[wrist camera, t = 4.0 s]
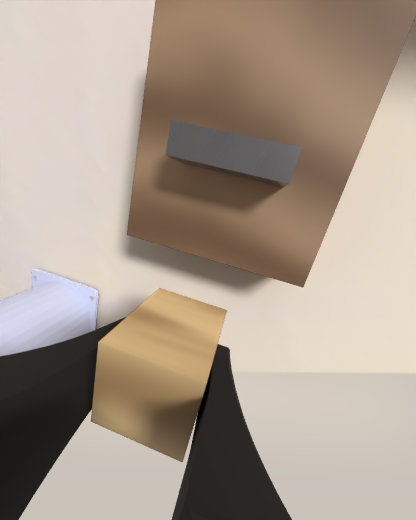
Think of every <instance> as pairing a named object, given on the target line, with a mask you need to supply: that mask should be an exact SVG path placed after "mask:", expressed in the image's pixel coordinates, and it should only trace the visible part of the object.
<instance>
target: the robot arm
mask: <svg viewBox="0 0 416 520" xmlns="http://www.w3.org/2000/svg"><path fill="white" fill-rule="evenodd" d="M31 277H32V288H31V289H29V290H26V291H23V292H21V293H18V294H15V295H13V296H10V297H8V298H5V299H2V300H0V520H19V518H20V516H21V515H22V513H23V512H24V510H25V508H26V507H27V505H28V503H29V502H30V500H31V499H32V497H33V495H34V494H35V492H36V491H37V489H38V488H39V486H40V485H41V483H42V482H43V480H44V478H45V477H46V475H47V473H48V472H49V471H50V469H51V468H52V466H53V465H54V463H55V462H56V460H57V458H58V457H59V456H60V454H61V453H62V451H63V450H64V448H65V447H66V445H67V444H68V442H69V441H70V439H71V438H72V436H73V435H74V433H75V432H76V431H77V429H78V428H79V426H80V425H81V423H82V422H83V420H84V419H85V418H86V416H87V415H88V413H89V412H90V411H91V410H92V404H93V394H94V383H95V373H96V362H97V352H98V342H99V341H100V340H101V339H102V338H104V337H105V336H106V335H107V334H108V333H109V332H110V331H111V330H113V329H114V328H115V327H116V326H117V325H118V324H119V323H121V322H122V321H123V320H124V319H125V318H126V317H125V318H123V319H120V320H118V321H116V322H113V323H111V324H109V325H106V326H104V327H101V328H99V329H97V330H96V319H97V307H98V296H99V293H98V291H97V290H96V289H95V288H92V287H89V286H86V285H83V284H80V283H77V282H75V281H72V280H69V279H66V278H63V277H60V276H57V275H54V274H51V273H49V272H46V271H43V270H40V269H34V270H32V272H31ZM93 298H94V299H93ZM172 520H292V519H291V517H290V515H289V514H288V512H287V510H286V508H285V506H284V505H283V503H282V501H281V499H280V497H279V495H278V493H277V491H276V489H275V488H274V485H273V483H272V481H271V480H270V478H269V476H268V474H267V471H266V469H265V467H264V465H263V463H262V461H261V458H260V456H259V454H258V451H257V450H256V447H255V445H254V442H253V440H252V437H251V435H250V432H249V430H248V427H247V425H246V422H245V419H244V416H243V413H242V410H241V406H240V403H239V400H238V396H237V392H236V389H235V384H234V379H233V375H232V369H231V362H230V350H229V348H228V347H225V346H222V345H219V344H218V345H217V348H216V352H215V355H214V359H213V363H212V366H211V370H210V373H209V377H208V380H207V384H206V387H205V391H204V394H203V397H202V400H201V404H200V407H199V410H198V414H197V419H196V425H195V430H194V435H193V440H192V445H191V450H190V454H189V458H188V462H187V466H186V469H185V473H184V477H183V480H182V484H181V488H180V491H179V495H178V498H177V502H176V506H175V510H174V513H173V517H172Z"/></svg>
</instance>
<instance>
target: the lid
mask: <svg viewBox="0 0 416 520" xmlns="http://www.w3.org/2000/svg"><path fill="white" fill-rule="evenodd" d="M415 16H416V0H156V1H155V9H154V17H153V25H152V34H151V42H150V50H149V58H148V66H147V75H146V83H145V91H144V99H143V107H142V115H141V124H140V132H139V140H138V148H137V156H136V165H135V173H134V181H133V189H132V197H131V206H130V214H129V222H128V230H127V235H130V236H133V237H136V238H140V239H143V240H146V241H150V242H153V243H156V244H160V245H163V246H166V247H170V248H173V249H176V250H180V251H183V252H186V253H190V254H193V255H196V256H200V257H203V258H206V259H210V260H213V261H216V262H220V263H223V264H226V265H230V266H233V267H236V268H240V269H243V270H246V271H250V272H253V273H257V274H260V275H263V276H267V277H270V278H273V279H277V280H280V281H283V282H287V283H290V284H293V285H297V286H300V287H304V284H305V282H306V279H307V277H308V275H309V272H310V270H311V267H312V265H313V262H314V260H315V258H316V255H317V253H318V250H319V248H320V246H321V243H322V241H323V238H324V236H325V234H326V231H327V229H328V226H329V224H330V221H331V219H332V217H333V214H334V212H335V209H336V207H337V205H338V202H339V200H340V197H341V195H342V192H343V190H344V188H345V185H346V183H347V180H348V178H349V176H350V173H351V171H352V168H353V166H354V164H355V161H356V159H357V156H358V154H359V151H360V149H361V147H362V144H363V142H364V139H365V137H366V135H367V132H368V130H369V127H370V125H371V123H372V120H373V118H374V115H375V113H376V110H377V108H378V106H379V103H380V101H381V98H382V96H383V94H384V91H385V89H386V86H387V84H388V82H389V79H390V77H391V74H392V72H393V69H394V67H395V65H396V62H397V60H398V57H399V55H400V53H401V50H402V48H403V45H404V43H405V41H406V38H407V36H408V33H409V31H410V28H411V26H412V24H413V21H414V19H415Z"/></svg>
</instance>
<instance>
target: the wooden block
mask: <svg viewBox="0 0 416 520" xmlns="http://www.w3.org/2000/svg"><path fill="white" fill-rule="evenodd" d="M226 312H227V310H225V309H222V308H219V307H216V306H212V305H209V304H206V303H203V302H200V301H197V300H194V299H191V298H188V297H185V296H182V295H179V294H176V293H173V292H170V291H167V290H164V289H161V288H159V289H158V290H157V291H156V292H154V293H153V294H152V295H151V296H150V297H149V298H148V299H147V300H145V301H144V302H143V303H142V304H141V305H140V306H139V307H138V308H136V309H135V310H134V311H133V312H132V313H131V314H130V315H128V316H127V317H126V318H125V319H124V320H123V321H122V322H121V323H119V324H118V325H117V326H116V327H115V328H114V329H113V330H111V331H110V332H109V333H108V334H107V335H106V336H105V337H104V338H102V339H101V340H100V341H99V342H98V352H97V362H96V373H95V383H94V394H93V404H92V415H91V422H93V423H95V424H98V425H100V426H102V427H105V428H107V429H109V430H111V431H113V432H116V433H118V434H120V435H122V436H124V437H127V438H129V439H131V440H134V441H136V442H138V443H140V444H143V445H145V446H147V447H149V448H151V449H154V450H156V451H158V452H160V453H163V454H165V455H167V456H170V457H171V458H174V459H176V460H178V461H181V462H183V459H184V456H185V452H186V449H187V446H188V443H189V439H190V436H191V433H192V430H193V426H194V423H195V420H196V417H197V413H198V410H199V407H200V404H201V400H202V397H203V394H204V391H205V387H206V384H207V380H208V377H209V373H210V370H211V366H212V363H213V359H214V355H215V352H216V348H217V345H218V341H219V337H220V334H221V330H222V327H223V323H224V319H225V316H226Z"/></svg>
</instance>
